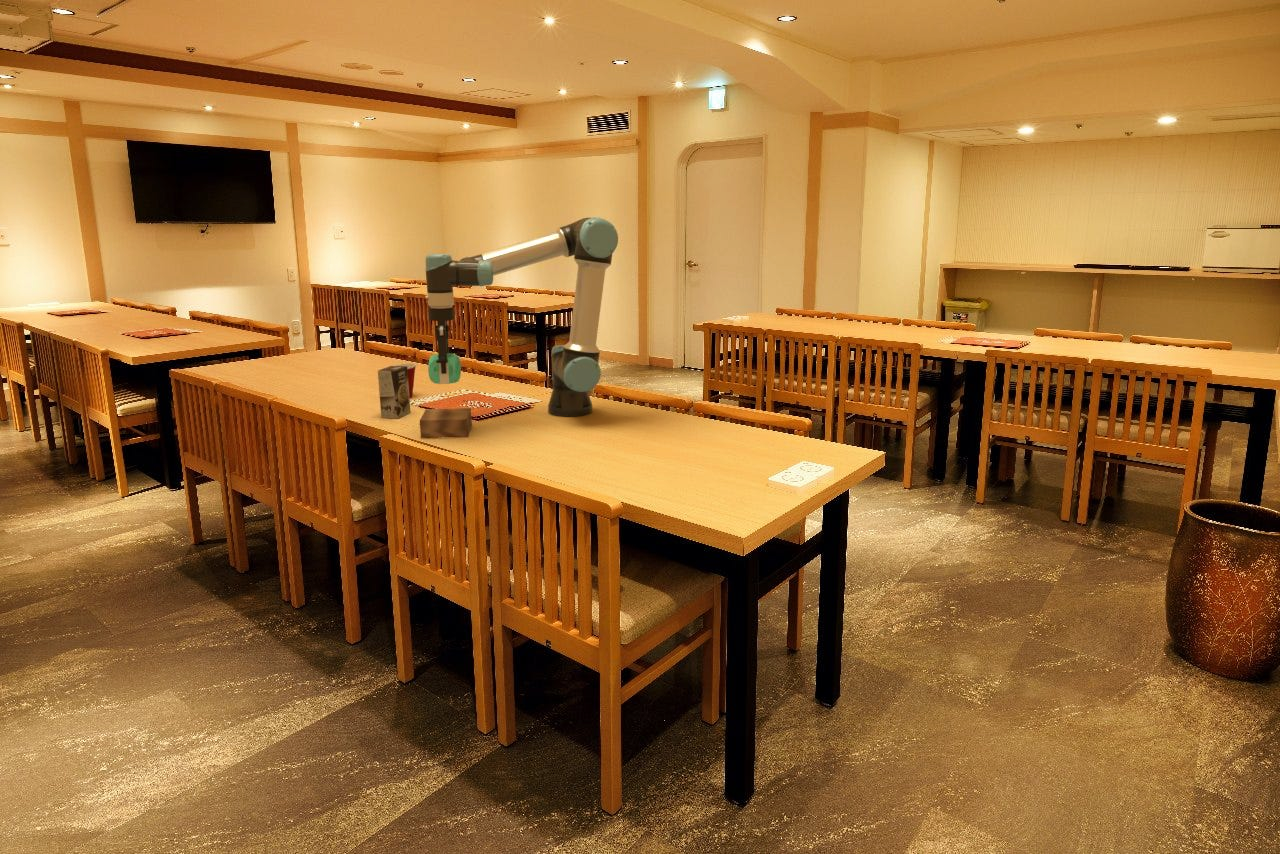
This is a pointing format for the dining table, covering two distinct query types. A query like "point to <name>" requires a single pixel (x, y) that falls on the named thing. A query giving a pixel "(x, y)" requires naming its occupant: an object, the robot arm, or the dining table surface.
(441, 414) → the walnut block
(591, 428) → the dining table surface
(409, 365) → the plastic cup
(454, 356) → the decorative dice
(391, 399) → the coffee box
